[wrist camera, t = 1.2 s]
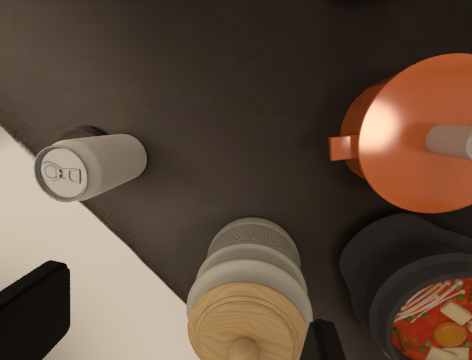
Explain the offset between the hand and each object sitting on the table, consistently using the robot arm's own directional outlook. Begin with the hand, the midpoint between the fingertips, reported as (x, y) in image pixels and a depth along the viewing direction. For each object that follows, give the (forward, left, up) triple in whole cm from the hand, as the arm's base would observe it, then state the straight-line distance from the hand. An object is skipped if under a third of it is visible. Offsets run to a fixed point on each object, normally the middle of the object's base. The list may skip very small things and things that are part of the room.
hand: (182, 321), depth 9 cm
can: (0, -17, -26) cm, 31 cm away
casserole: (+12, +26, -26) cm, 39 cm away
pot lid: (-8, +18, -19) cm, 27 cm away
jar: (+12, +3, -26) cm, 29 cm away
